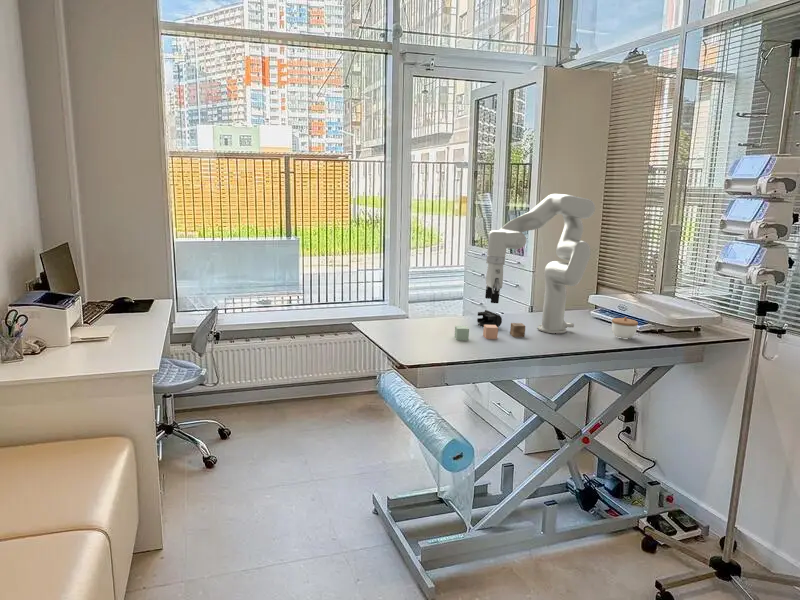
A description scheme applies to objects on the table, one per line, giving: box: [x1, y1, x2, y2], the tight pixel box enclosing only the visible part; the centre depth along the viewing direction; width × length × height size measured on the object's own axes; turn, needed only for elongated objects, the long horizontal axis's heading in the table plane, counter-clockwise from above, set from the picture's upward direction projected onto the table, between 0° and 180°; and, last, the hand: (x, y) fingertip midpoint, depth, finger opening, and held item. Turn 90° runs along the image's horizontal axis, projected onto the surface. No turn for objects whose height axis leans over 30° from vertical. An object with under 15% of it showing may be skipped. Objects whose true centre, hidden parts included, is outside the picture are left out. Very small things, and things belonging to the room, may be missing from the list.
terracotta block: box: [482, 325, 499, 340], centre depth 253 cm, size 5×5×5 cm
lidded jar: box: [611, 316, 639, 339], centre depth 262 cm, size 11×11×9 cm
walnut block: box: [509, 322, 526, 338], centre depth 258 cm, size 5×5×5 cm
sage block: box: [454, 325, 470, 341], centre depth 249 cm, size 5×5×5 cm
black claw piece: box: [476, 309, 503, 328], centre depth 272 cm, size 10×7×7 cm
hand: (491, 300), depth 250 cm, fingers open, 9 cm apart
